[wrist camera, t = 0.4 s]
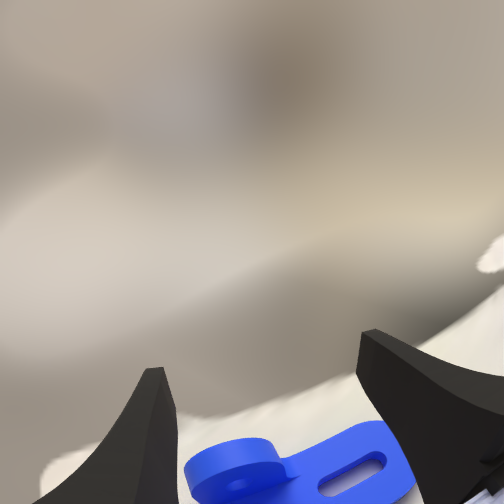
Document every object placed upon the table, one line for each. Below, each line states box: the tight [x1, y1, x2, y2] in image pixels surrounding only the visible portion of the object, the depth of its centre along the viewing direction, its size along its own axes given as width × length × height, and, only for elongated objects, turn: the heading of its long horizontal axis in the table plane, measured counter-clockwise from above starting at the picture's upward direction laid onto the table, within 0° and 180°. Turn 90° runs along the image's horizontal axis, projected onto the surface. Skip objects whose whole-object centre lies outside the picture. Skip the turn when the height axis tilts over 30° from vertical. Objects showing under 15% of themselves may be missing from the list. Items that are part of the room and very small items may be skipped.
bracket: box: [184, 421, 416, 504], centre depth 19 cm, size 18×8×9 cm, turn 111°
